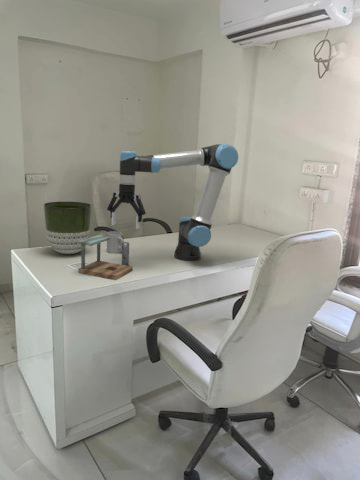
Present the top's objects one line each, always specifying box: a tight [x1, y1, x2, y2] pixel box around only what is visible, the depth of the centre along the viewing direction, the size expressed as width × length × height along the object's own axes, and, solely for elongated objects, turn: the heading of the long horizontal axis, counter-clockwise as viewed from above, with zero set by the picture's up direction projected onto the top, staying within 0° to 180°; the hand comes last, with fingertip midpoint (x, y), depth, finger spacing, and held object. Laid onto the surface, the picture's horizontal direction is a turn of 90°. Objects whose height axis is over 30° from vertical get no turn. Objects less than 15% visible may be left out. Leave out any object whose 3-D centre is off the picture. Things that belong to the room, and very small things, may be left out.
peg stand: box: [78, 234, 134, 281], centre depth 175 cm, size 20×16×15 cm
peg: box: [121, 241, 130, 266], centre depth 186 cm, size 4×4×12 cm
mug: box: [106, 231, 125, 254], centre depth 210 cm, size 12×8×11 cm
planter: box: [43, 201, 92, 255], centre depth 201 cm, size 24×24×27 cm
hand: (125, 226), depth 183 cm, fingers open, 13 cm apart
